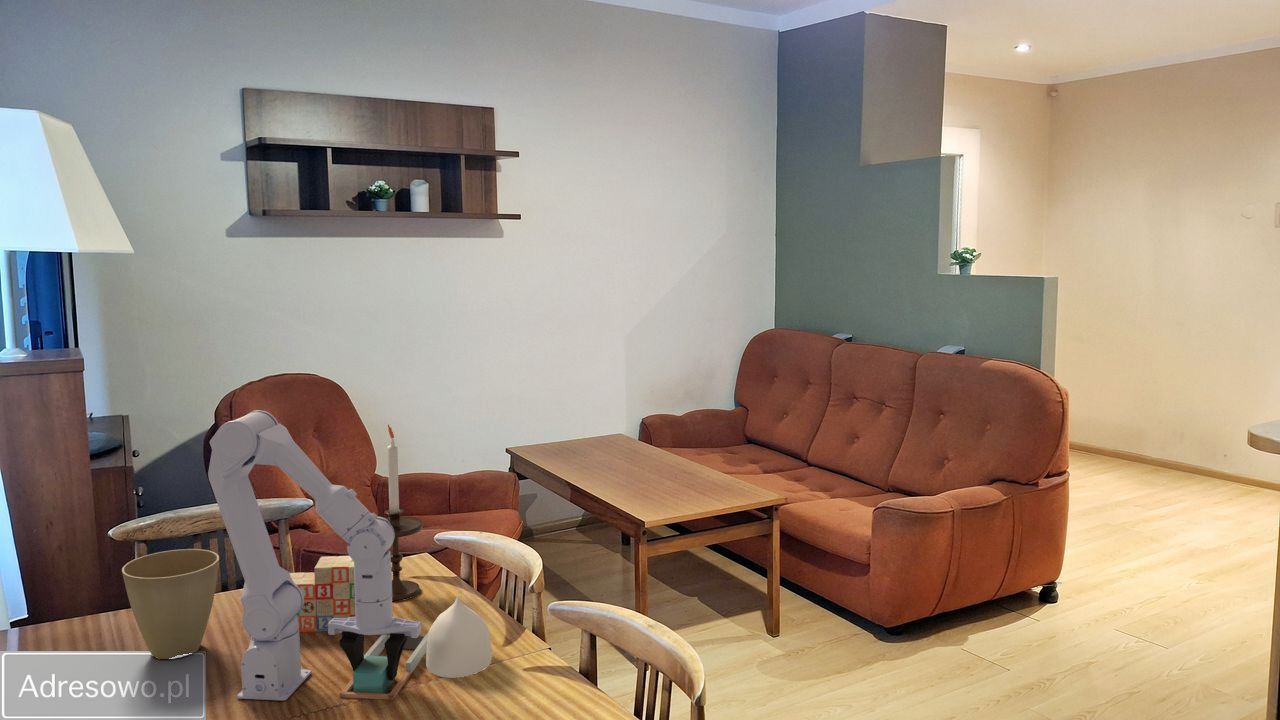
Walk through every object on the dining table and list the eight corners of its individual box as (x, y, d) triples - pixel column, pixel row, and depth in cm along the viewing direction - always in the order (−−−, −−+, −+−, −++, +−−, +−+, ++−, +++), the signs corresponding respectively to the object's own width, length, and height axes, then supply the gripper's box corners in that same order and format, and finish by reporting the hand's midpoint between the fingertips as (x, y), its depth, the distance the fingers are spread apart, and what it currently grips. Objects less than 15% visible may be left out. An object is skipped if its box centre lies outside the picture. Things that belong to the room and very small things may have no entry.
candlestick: (375, 607, 177) (370, 431, 173) (363, 588, 187) (358, 421, 182) (430, 597, 182) (426, 426, 178) (416, 579, 192) (411, 416, 187)
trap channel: (393, 699, 141) (392, 687, 141) (339, 697, 142) (339, 685, 142) (439, 633, 166) (439, 622, 165) (393, 631, 166) (393, 621, 166)
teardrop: (414, 660, 155) (412, 593, 153) (471, 642, 162) (470, 578, 160) (445, 685, 146) (443, 614, 145) (504, 665, 154) (503, 597, 152)
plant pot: (212, 665, 152) (207, 574, 150) (115, 674, 149) (108, 581, 147) (232, 629, 167) (227, 545, 165) (144, 636, 164) (138, 550, 162)
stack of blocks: (264, 634, 165) (261, 569, 163) (274, 620, 171) (271, 557, 170) (384, 629, 167) (382, 565, 166) (390, 615, 174) (388, 553, 172)
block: (381, 698, 142) (381, 674, 142) (353, 697, 143) (353, 672, 142) (394, 679, 148) (393, 656, 148) (367, 678, 149) (366, 655, 148)
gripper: (426, 588, 148) (428, 667, 149) (339, 584, 149) (342, 663, 150) (411, 605, 141) (414, 688, 142) (321, 601, 142) (324, 684, 143)
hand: (376, 676), depth 146 cm, fingers open, 5 cm apart
